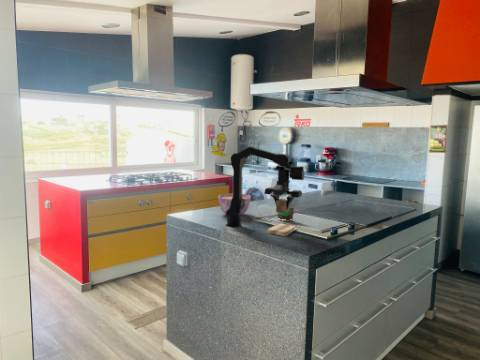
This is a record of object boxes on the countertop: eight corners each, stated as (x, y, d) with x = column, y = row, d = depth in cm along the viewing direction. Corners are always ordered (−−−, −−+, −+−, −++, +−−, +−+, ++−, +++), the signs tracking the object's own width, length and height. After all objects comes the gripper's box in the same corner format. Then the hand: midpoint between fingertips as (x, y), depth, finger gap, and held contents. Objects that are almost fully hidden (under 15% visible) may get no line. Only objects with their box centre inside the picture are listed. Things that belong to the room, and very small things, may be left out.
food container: (271, 219, 219) (271, 202, 217) (277, 217, 223) (278, 201, 222) (287, 223, 210) (288, 205, 209) (294, 221, 215) (295, 204, 213)
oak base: (267, 233, 190) (267, 229, 189) (278, 226, 202) (278, 223, 202) (285, 236, 185) (285, 232, 185) (295, 229, 197) (295, 226, 197)
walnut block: (276, 211, 191) (276, 200, 190) (280, 210, 195) (280, 198, 195) (285, 213, 189) (285, 201, 188) (288, 211, 193) (289, 199, 192)
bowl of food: (217, 218, 217) (217, 199, 215) (218, 211, 237) (218, 193, 235) (251, 219, 218) (252, 199, 216) (249, 211, 237) (249, 193, 236)
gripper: (260, 179, 187) (259, 209, 189) (294, 182, 178) (293, 214, 180) (269, 176, 197) (268, 205, 199) (302, 179, 188) (301, 209, 190)
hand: (282, 208), depth 192 cm, fingers closed on walnut block, 5 cm apart
